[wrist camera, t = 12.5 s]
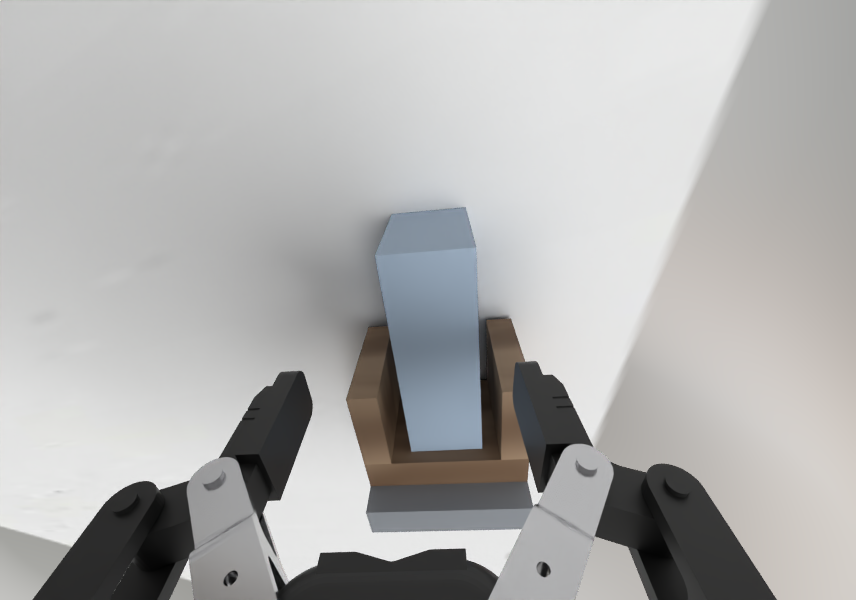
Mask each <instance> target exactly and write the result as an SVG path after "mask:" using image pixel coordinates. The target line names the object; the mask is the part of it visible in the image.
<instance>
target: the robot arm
mask: <svg viewBox="0 0 856 600" xmlns="http://www.w3.org/2000/svg"><path fill="white" fill-rule="evenodd" d="M513 405H514V410H515V413H516V417H517V420H518V424H519V427H520V431H521V434H522V438H523V442H524V445H525V449H526V452H527V456H528V459H529V463H530V466H531V470H532V473H533V477H534V480H535V484H536V487H537V491H538V493H542V492H544V493H543V495H542V497H541V499H540V501H539V503H538V504H535V505H534V506H533V508H532V510H531V512H530V514H529V516H528V518H527V520H526V522H525V524H524V526H523V528H522V530H521V532H520V534H519V537H518V539H517V541H516V543H515V545H514V547H513V549H512V551H511V553H510V555H509V557H508V559H507V562H506V564H505V566H504V568H503V570H502V572H501V574H500V576H499V577H498V576H496V575H495V574H494V573H493V572H491V571H490V570H488V569H486V568H485V567H483V566H481V565H479V564H477V563H474V562H471V561H468V560H466V549H434V550H427V551H424V552H421V553H418V554H415V555H412V556H409V557H406V558H403V559H400V560H397V561H392V562H390V561H386V560H382V559H379V558H375V557H372V556H368V555H365V554H361V553H358V552H335V553H320V557H319V561H318V565H317V566H315V567H312V568H310V569H308V570H306V571H304V572H303V573H301V574H299V575H298V576H296V577H295V578H293V579H292V580H291V581H290V582H289V581H288V578H287V576H286V574H285V571H284V569H283V567H282V564H281V561H280V558H279V555H278V552H277V549H276V546H275V543H274V540H273V538H272V535H271V532H270V529H269V526H268V523H267V520H266V517H265V514H264V512H263V511H264V508H265V506H266V503H267V501H275V500H281V497H282V494H283V491H284V489H285V486H286V483H287V481H288V478H289V475H290V473H291V470H292V467H293V464H294V462H295V459H296V456H297V454H298V451H299V448H300V446H301V443H302V440H303V437H304V435H305V432H306V429H307V427H308V424H309V421H310V418H311V415H312V409H313V404H312V398H311V395H310V392H309V389H308V385H307V382H306V379H305V376H304V373H303V372H302V371H290V372H281V373H279V375H278V376H277V378H276V380H275V382H274V384H273V386H266V387H265V388H264V389H263V390H262V391H261V392H260V393H259V394H257V395H256V396H255V397H254V399H253V401H252V403H251V404H250V406H249V408H248V411H246V413H245V414H244V416H243V418H242V421H240V423H239V425H238V426H237V428H236V430H235V432H234V433H233V435H232V437H231V438H230V440H229V442H228V443H227V445H226V447H225V449H224V450H223V452H222V454H221V455H220V457H219V458H218V459H215V460H213V461H210V462H209V463H207V464H205V465H204V466H202V467H201V468H200V469H199V470H198V471H197V472H196V473H195V474H194V475H193V476H192V478H191V479H190V480H189V481H187V482H183V483H180V484H177V485H174V486H171V487H168V488H165V489H161V490H159V489H158V488H157V487H156V485H155V484H154V483H152V482H149V481H142V482H137V483H134V484H131V485H129V486H127V487H125V488H123V489H122V490H120V491H119V492H117V493H116V494H114V495H113V496H112V497H111V498H110V499H109V500H108V501H107V502H106V503H105V504H104V505H103V506H102V508H101V509H100V510H99V512H98V513H97V514H96V516H95V517H94V518H93V520H92V521H91V522H90V524H89V525H88V526H87V528H86V529H85V530H84V532H83V533H82V534H81V536H80V537H79V538H78V540H77V541H76V542H75V544H74V545H73V546H72V548H71V549H70V550H69V552H68V553H67V554H66V556H65V557H64V558H63V560H62V561H61V563H60V564H59V565H58V566H57V568H56V569H55V570H54V572H53V573H52V575H51V576H50V577H49V579H48V580H47V581H46V583H45V584H44V585H43V586H42V588H41V589H40V590H39V592H38V593H37V595H36V596H35V597H34V599H33V600H169V599H170V597H171V595H172V593H173V590H174V588H175V586H176V584H177V582H178V580H179V578H180V576H181V574H182V571H183V569H184V567H185V565H186V563H187V561H188V559H189V565H190V573H191V581H192V589H193V596H194V600H575V599H576V595H577V592H578V589H579V586H580V583H581V580H582V576H583V573H584V570H585V567H586V564H587V560H588V557H589V554H590V551H591V547H592V544H593V541H594V537H595V536H596V537H599V538H602V539H605V540H608V541H611V542H615V543H618V544H621V545H624V546H627V547H628V548H629V550H630V553H631V555H632V558H633V560H634V563H635V565H636V568H637V570H638V573H639V575H640V578H641V581H642V583H643V585H644V588H645V590H646V593H647V596H648V598H649V600H777V599H776V598H775V596H774V595H773V593H772V592H771V590H770V589H769V587H768V586H767V584H766V583H765V581H764V580H763V578H762V576H761V575H760V573H759V572H758V570H757V569H756V567H755V566H754V564H753V563H752V561H751V560H750V558H749V556H748V555H747V554H746V552H745V550H744V549H743V547H742V546H741V544H740V543H739V541H738V540H737V538H736V537H735V535H734V533H733V532H732V531H731V529H730V527H729V526H728V524H727V523H726V521H725V520H724V518H723V517H722V515H721V514H720V512H719V510H718V509H717V507H716V506H715V504H714V503H713V501H712V500H711V498H710V497H709V495H708V494H707V492H706V491H705V489H704V488H703V486H702V485H701V484H700V483H699V481H698V480H697V479H696V478H694V477H693V476H692V475H691V474H689V473H688V472H686V471H685V470H683V469H681V468H679V467H676V466H673V465H669V464H656V465H653V466H652V467H650V468H649V470H648V471H647V473H646V472H642V471H638V470H633V469H630V468H626V467H622V466H619V465H616V464H614V463H612V462H610V461H609V459H608V458H607V457H606V456H605V455H604V454H603V453H602V452H600V451H599V450H597V449H596V448H594V447H593V445H592V443H591V441H590V439H589V437H588V435H587V433H586V431H585V429H584V427H583V425H582V423H581V421H580V419H579V417H578V414H577V412H576V410H575V408H573V404H572V402H571V400H570V398H569V396H568V394H567V392H566V390H565V387H564V385H563V384H562V383H561V382H560V381H559V380H558V379H557V378H555V377H554V376H553V375H543V374H542V372H541V369H540V367H539V365H538V363H537V362H536V361H531V362H516V363H515V370H514V382H513ZM129 565H130V566H129ZM126 570H127V571H126ZM123 575H124V576H123ZM120 580H121V581H120ZM117 585H118V586H117ZM116 587H117V588H116ZM114 590H115V591H114ZM113 592H114V593H113Z"/></svg>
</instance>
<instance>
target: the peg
mask: <svg viewBox="0 0 856 600" xmlns="http://www.w3.org/2000/svg"><path fill="white" fill-rule="evenodd" d="M375 259H376V265H377V270H378V275H379V281H380V286H381V291H382V297H383V302H384V307H385V313H386V318H387V323H388V329H389V334H390V339H391V345H392V350H393V355H394V361H395V366H396V372H397V377H398V382H399V388H400V393H401V398H402V404H403V409H404V414H405V420H406V425H407V430H408V436H409V441H410V446H411V452H417V451H440V450H464V449H482V421H481V389H480V356H479V324H478V291H477V259H476V245H475V241H474V237H473V234H472V230H471V226H470V222H469V219H468V215H467V211H466V207H465V208H454V209H443V210H432V211H421V212H410V213H399V214H392V215H391V217H390V220H389V222H388V225H387V227H386V230H385V232H384V235H383V237H382V240H381V242H380V244H379V247H378V249H377V252H376V254H375Z"/></svg>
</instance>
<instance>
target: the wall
mask: <svg viewBox="0 0 856 600" xmlns="http://www.w3.org/2000/svg"><path fill="white" fill-rule="evenodd" d="M532 508H533V504H532V500H531V495H530V491H529V487H528V483H527V481H526V482H494V483H462V484H429V485H397V486H371V488H370V494H369V500H368V506H367V511H366V514H367V517H368V520H369V523H370V526H371V529H372V532H410V531H456V530H501V529H522V528H523V526H524V524H525V522H526V520H527V518H528V516H529V514H530V512H531V510H532Z"/></svg>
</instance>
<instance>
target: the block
mask: <svg viewBox="0 0 856 600" xmlns="http://www.w3.org/2000/svg"><path fill="white" fill-rule="evenodd" d="M486 329H487V380H480V389H481V421H482V449H464V450H440V451H417V452H411V446H410V441H409V436H408V430H407V425H406V420H405V414H404V409H403V404H402V398H401V393H400V388H399V382H398V377H397V372H396V366H395V361H394V355H393V350H392V345H391V339H390V334H389V329H388V326H380V327H368V330H367V333H366V337H365V340H364V343H363V346H362V350H361V353H360V356H359V359H358V363H357V366H356V369H355V372H354V376H353V379H352V382H351V385H350V389H349V392H348V395H347V398H346V401H347V405H348V408H349V412H350V415H351V419H352V422H353V426H354V429H355V433H356V436H357V440H358V443H359V446H360V450H361V453H362V457H363V460H364V464H365V467H366V471H367V474H368V478H369V481H370V485H371V486H397V485H429V484H462V483H494V482H526V481H527V479H528V467H529V459H528V456H527V452H526V449H525V445H524V442H523V438H522V434H521V431H520V427H519V424H518V420H517V417H516V413H515V410H514V405H513V382H514V370H515V363H516V362H525V359H524V356H523V354H522V351H521V348H520V345H519V342H518V339H517V336H516V333H515V330H514V327H513V324H512V321H511V318H510V319H494V320H486Z"/></svg>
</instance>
